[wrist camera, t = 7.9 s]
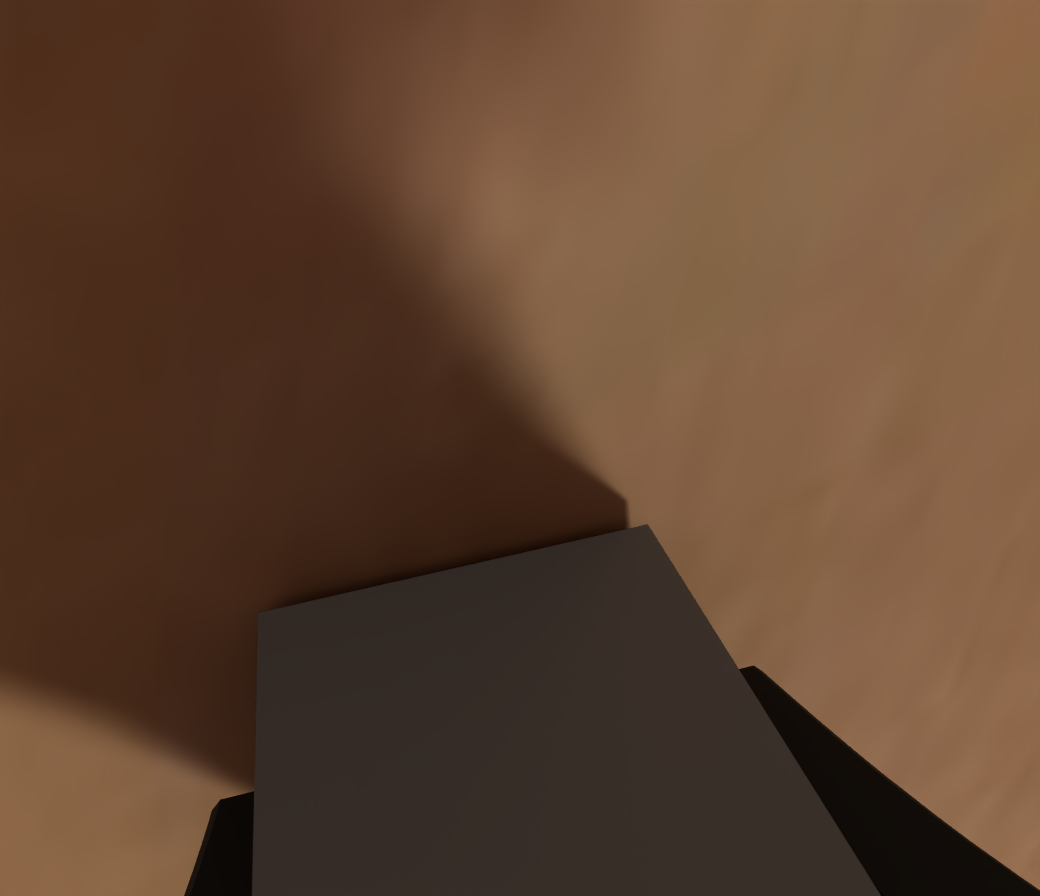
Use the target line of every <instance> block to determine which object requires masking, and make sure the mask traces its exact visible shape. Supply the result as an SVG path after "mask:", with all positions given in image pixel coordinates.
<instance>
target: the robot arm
mask: <svg viewBox="0 0 1040 896" xmlns="http://www.w3.org/2000/svg"><path fill="white" fill-rule="evenodd" d="M739 670H740V672H741V674H742V675H743V677H744V678H745V680H746V682H747V683H748V685H749V686H750V688H751V690H752V691H753V693H754V694H755V696H756V697H757V699H758V701H759V702H760V704H761V705H762V707H763V709H764V710H765V712H766V713H767V715H768V717H769V718H770V720H771V721H772V723H773V725H774V726H775V728H776V729H777V731H778V733H779V734H780V736H781V737H782V739H783V740H784V742H785V744H786V745H787V747H788V748H789V750H790V752H791V753H792V755H793V756H794V758H795V760H796V761H797V763H798V764H799V766H800V768H801V769H802V771H803V772H804V774H805V776H806V777H807V779H808V780H809V782H810V783H811V785H812V787H813V788H814V790H815V791H816V793H817V795H818V796H819V798H820V799H821V801H822V803H823V804H824V806H825V807H826V809H827V811H828V812H829V814H830V815H831V817H832V819H833V820H834V822H835V823H836V825H837V826H838V828H839V830H840V831H841V833H842V834H843V836H844V838H845V839H846V841H847V842H848V844H849V846H850V847H851V849H852V850H853V852H854V854H855V855H856V857H857V858H858V860H859V862H860V863H861V865H862V866H863V868H864V869H865V871H866V873H867V874H868V876H869V877H870V879H871V881H872V882H873V884H874V885H875V887H876V889H877V890H878V892H879V893H880V895H881V896H1040V890H1039V889H1037V888H1036V887H1034V886H1033V885H1031V884H1030V883H1028V882H1027V881H1025V880H1024V879H1023V878H1021V877H1020V876H1018V875H1017V874H1016V873H1014V872H1013V871H1011V870H1010V869H1009V868H1007V867H1006V866H1004V865H1003V864H1002V863H1000V862H999V861H997V860H996V859H995V858H993V857H992V856H990V855H989V854H988V853H986V852H985V851H983V850H982V849H981V848H979V847H978V846H976V845H975V844H974V843H972V842H971V841H969V840H968V839H967V838H965V837H964V836H963V835H961V834H960V833H959V832H957V831H956V830H955V829H953V828H952V827H951V826H949V825H948V824H947V823H945V822H944V821H943V820H941V819H940V818H939V817H937V816H936V815H935V814H934V813H932V812H931V811H930V810H928V809H927V808H926V807H925V806H923V805H922V804H921V803H920V802H918V801H917V800H916V799H914V798H913V797H912V796H911V795H909V794H908V793H907V792H905V791H904V790H903V789H902V788H900V787H899V786H898V785H897V784H895V783H894V782H893V781H891V780H890V779H889V778H888V777H886V776H885V775H884V774H882V773H881V772H880V771H879V770H878V769H876V768H875V767H874V766H873V765H871V764H870V763H869V762H868V761H867V760H865V759H864V758H863V757H862V756H860V755H859V754H858V753H857V752H856V751H854V750H853V749H852V748H851V747H850V746H848V745H847V744H846V743H845V742H844V741H842V740H841V739H840V738H839V737H838V736H836V735H835V734H834V733H833V732H832V731H831V730H829V729H828V728H827V727H826V726H825V725H823V724H822V723H821V722H820V721H819V720H818V719H816V718H815V717H814V716H813V715H812V714H811V713H809V712H808V711H807V710H806V709H805V708H804V707H803V706H801V705H800V704H799V703H798V702H797V701H796V700H794V699H793V698H792V697H791V696H790V695H789V694H788V693H786V692H785V691H784V690H783V689H782V688H781V687H780V686H778V685H777V684H776V683H775V682H774V681H773V680H772V679H770V678H769V677H768V676H767V675H766V674H765V673H764V672H763V671H761V670H760V669H758V668H756V667H755V666H750V667H746V668H742V669H739ZM253 827H254V791H253V792H249V793H245V794H241V795H237V796H233V797H229V798H225V799H221V800H220V801H219V802H218V804H217V805H216V806H215V807H214V808H213V810H212V812H211V816H210V819H209V822H208V826H207V829H206V832H205V836H204V839H203V842H202V845H201V848H200V851H199V854H198V857H197V860H196V863H195V866H194V869H193V872H192V875H191V878H190V881H189V884H188V886H187V889H186V892H185V895H184V896H252V873H253Z"/></svg>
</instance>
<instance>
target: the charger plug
mask: <svg viewBox="0 0 1040 896" xmlns="http://www.w3.org/2000/svg"><path fill="white" fill-rule="evenodd" d="M252 896H881V895H880V893H879V892H878V890H877V889H876V887H875V885H874V884H873V882H872V881H871V879H870V877H869V876H868V874H867V873H866V871H865V869H864V868H863V866H862V865H861V863H860V862H859V860H858V858H857V857H856V855H855V854H854V852H853V850H852V849H851V847H850V846H849V844H848V842H847V841H846V839H845V838H844V836H843V834H842V833H841V831H840V830H839V828H838V826H837V825H836V823H835V822H834V820H833V819H832V817H831V815H830V814H829V812H828V811H827V809H826V807H825V806H824V804H823V803H822V801H821V799H820V798H819V796H818V795H817V793H816V791H815V790H814V788H813V787H812V785H811V783H810V782H809V780H808V779H807V777H806V776H805V774H804V772H803V771H802V769H801V768H800V766H799V764H798V763H797V761H796V760H795V758H794V756H793V755H792V753H791V752H790V750H789V748H788V747H787V745H786V744H785V742H784V740H783V739H782V737H781V736H780V734H779V733H778V731H777V729H776V728H775V726H774V725H773V723H772V721H771V720H770V718H769V717H768V715H767V713H766V712H765V710H764V709H763V707H762V705H761V704H760V702H759V701H758V699H757V697H756V696H755V694H754V693H753V691H752V690H751V688H750V686H749V685H748V683H747V682H746V680H745V678H744V677H743V675H742V674H741V672H740V670H739V669H738V667H737V666H736V664H735V662H734V661H733V659H732V658H731V656H730V655H729V653H728V651H727V650H726V648H725V647H724V645H723V643H722V642H721V640H720V639H719V637H718V635H717V634H716V632H715V631H714V629H713V627H712V626H711V624H710V623H709V621H708V619H707V618H706V616H705V615H704V613H703V612H702V610H701V608H700V607H699V605H698V604H697V602H696V600H695V599H694V597H693V596H692V594H691V592H690V591H689V589H688V588H687V586H686V584H685V583H684V581H683V580H682V578H681V576H680V575H679V573H678V572H677V570H676V569H675V567H674V565H673V564H672V562H671V561H670V559H669V557H668V556H667V554H666V553H665V551H664V549H663V548H662V546H661V545H660V543H659V541H658V540H657V538H656V537H655V535H654V533H653V532H652V530H651V529H650V527H649V526H648V524H647V525H643V526H638V527H634V528H629V529H625V530H621V531H616V532H612V533H607V534H603V535H599V536H594V537H590V538H585V539H581V540H577V541H572V542H568V543H563V544H559V545H555V546H550V547H546V548H541V549H537V550H533V551H528V552H524V553H519V554H515V555H511V556H506V557H502V558H497V559H493V560H489V561H484V562H480V563H475V564H471V565H467V566H462V567H458V568H453V569H449V570H445V571H440V572H436V573H431V574H427V575H423V576H418V577H414V578H409V579H405V580H401V581H396V582H392V583H387V584H383V585H379V586H374V587H370V588H365V589H361V590H357V591H352V592H348V593H343V594H339V595H335V596H330V597H326V598H321V599H317V600H313V601H308V602H304V603H300V604H295V605H291V606H286V607H282V608H278V609H273V610H269V611H264V612H260V613H258V643H257V689H256V735H255V781H254V827H253V873H252Z"/></svg>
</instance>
